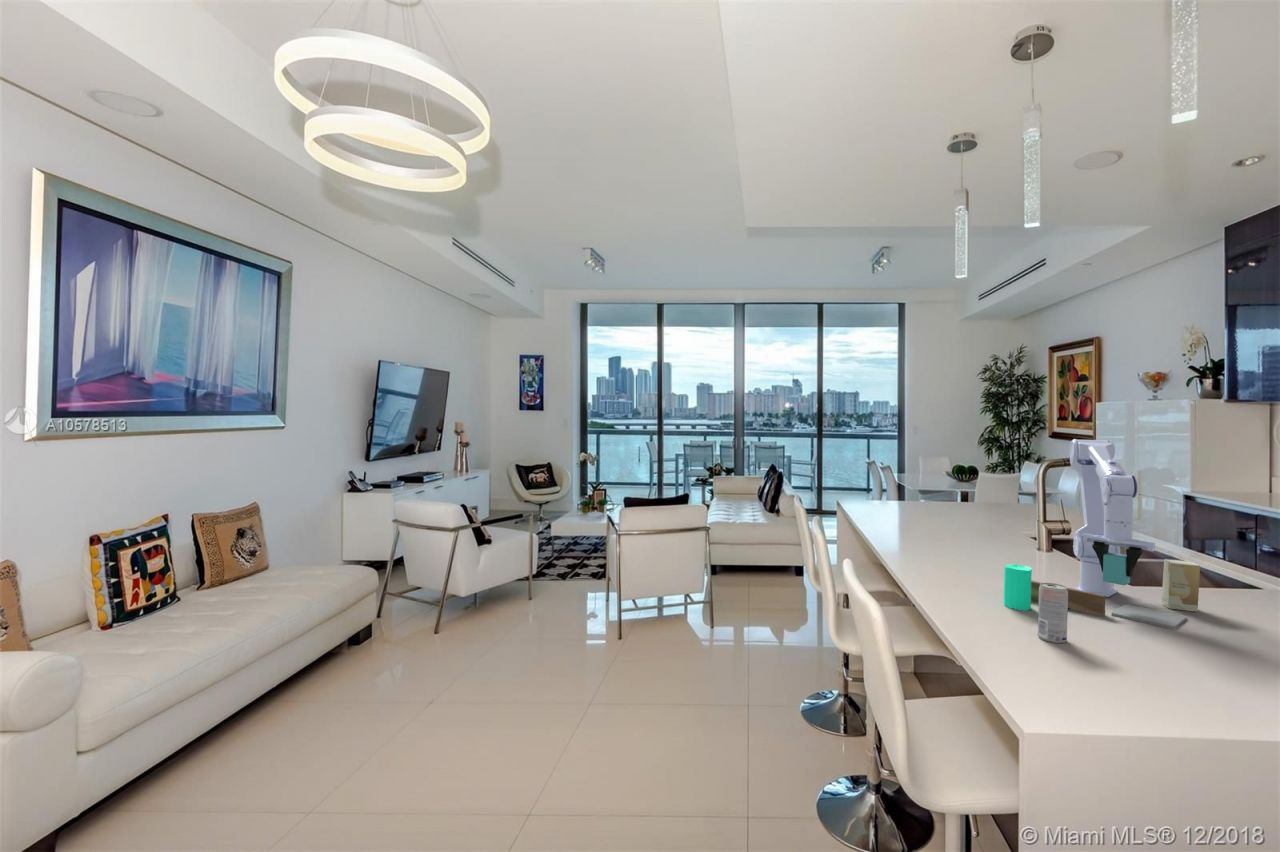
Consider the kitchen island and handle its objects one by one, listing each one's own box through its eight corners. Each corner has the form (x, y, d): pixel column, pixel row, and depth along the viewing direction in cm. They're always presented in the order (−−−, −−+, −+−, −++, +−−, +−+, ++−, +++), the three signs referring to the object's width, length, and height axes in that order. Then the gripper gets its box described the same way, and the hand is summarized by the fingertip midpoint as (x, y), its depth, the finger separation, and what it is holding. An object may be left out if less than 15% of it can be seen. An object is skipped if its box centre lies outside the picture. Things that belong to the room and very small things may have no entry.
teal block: (1108, 578, 156) (1109, 552, 156) (1129, 582, 152) (1130, 555, 152) (1102, 581, 153) (1103, 554, 153) (1124, 585, 150) (1125, 558, 150)
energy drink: (1062, 636, 134) (1063, 583, 134) (1070, 645, 129) (1071, 590, 129) (1034, 633, 136) (1035, 581, 136) (1041, 641, 131) (1043, 587, 131)
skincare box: (1168, 609, 154) (1169, 562, 154) (1160, 604, 158) (1162, 558, 158) (1199, 612, 152) (1201, 565, 152) (1191, 607, 156) (1192, 561, 156)
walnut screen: (1016, 595, 165) (1017, 577, 165) (1105, 615, 149) (1105, 595, 149) (1014, 596, 164) (1014, 578, 164) (1103, 616, 148) (1103, 596, 148)
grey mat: (1125, 606, 156) (1125, 604, 156) (1186, 619, 147) (1186, 616, 147) (1111, 615, 149) (1111, 612, 149) (1174, 629, 139) (1174, 626, 139)
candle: (1022, 603, 158) (1023, 558, 158) (1035, 610, 152) (1036, 564, 152) (999, 602, 158) (1000, 557, 158) (1010, 609, 153) (1011, 563, 152)
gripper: (1079, 518, 156) (1077, 570, 156) (1150, 527, 144) (1148, 582, 145) (1088, 516, 160) (1087, 566, 161) (1157, 524, 149) (1156, 578, 149)
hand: (1116, 573), depth 153 cm, fingers closed on teal block, 4 cm apart
